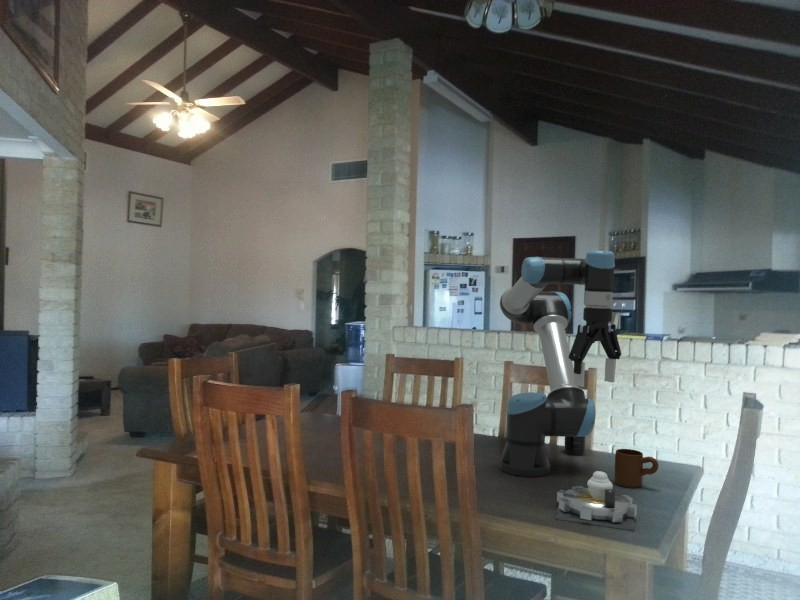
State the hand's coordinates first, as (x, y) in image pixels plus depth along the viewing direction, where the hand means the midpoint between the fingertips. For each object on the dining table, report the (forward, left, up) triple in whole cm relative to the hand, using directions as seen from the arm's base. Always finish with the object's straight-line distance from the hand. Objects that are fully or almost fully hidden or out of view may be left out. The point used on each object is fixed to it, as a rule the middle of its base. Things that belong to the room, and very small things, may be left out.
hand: (594, 383), depth 170 cm
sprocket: (+2, -16, -29) cm, 33 cm away
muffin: (+3, -17, -27) cm, 31 cm away
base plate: (+2, -16, -30) cm, 34 cm away
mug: (+12, +11, -30) cm, 34 cm away
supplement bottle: (-7, +40, -30) cm, 50 cm away
